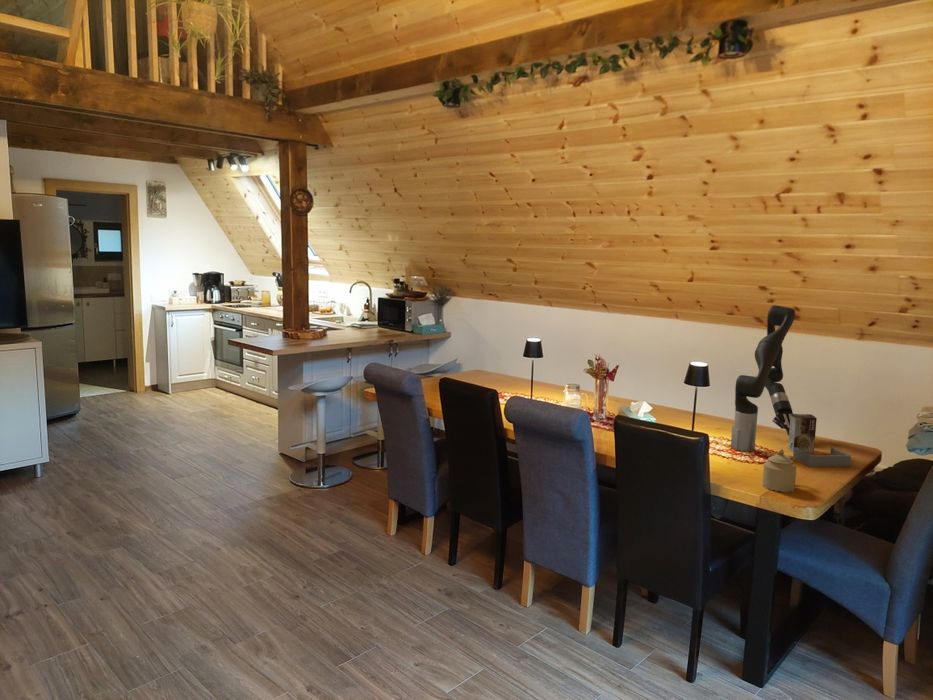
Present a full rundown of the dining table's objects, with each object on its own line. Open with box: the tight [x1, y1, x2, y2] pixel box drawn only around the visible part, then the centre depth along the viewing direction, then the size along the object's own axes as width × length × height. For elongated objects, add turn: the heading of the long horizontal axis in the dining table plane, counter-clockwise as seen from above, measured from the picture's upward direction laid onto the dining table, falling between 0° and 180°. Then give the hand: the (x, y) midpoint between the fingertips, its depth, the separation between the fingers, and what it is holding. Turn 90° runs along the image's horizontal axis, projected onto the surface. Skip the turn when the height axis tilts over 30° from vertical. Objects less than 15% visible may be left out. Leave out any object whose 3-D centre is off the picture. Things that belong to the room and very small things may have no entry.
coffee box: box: [787, 413, 818, 454], centre depth 295 cm, size 9×6×16 cm
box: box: [792, 447, 852, 467], centre depth 280 cm, size 17×12×4 cm
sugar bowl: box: [762, 448, 797, 493], centre depth 250 cm, size 15×11×15 cm
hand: (792, 436), depth 303 cm, fingers closed
